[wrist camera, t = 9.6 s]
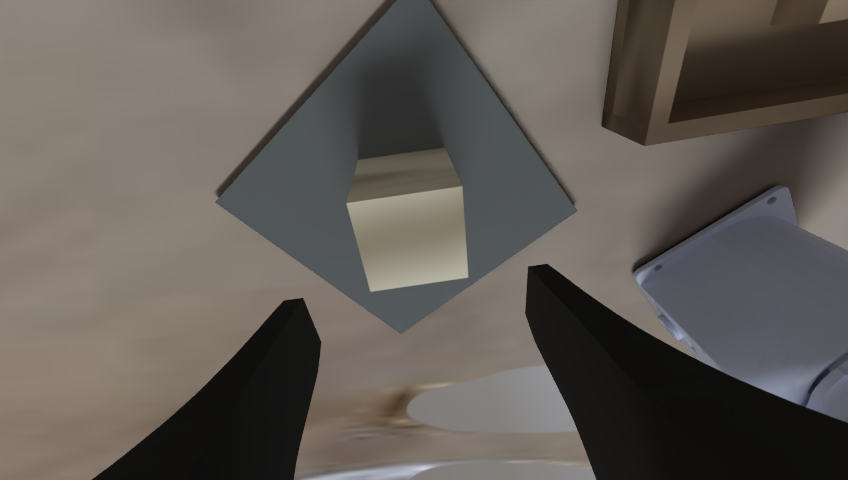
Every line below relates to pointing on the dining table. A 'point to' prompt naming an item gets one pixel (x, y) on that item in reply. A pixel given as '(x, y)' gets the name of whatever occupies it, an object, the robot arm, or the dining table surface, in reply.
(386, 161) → the birch block
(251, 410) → the robot arm
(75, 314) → the dining table surface
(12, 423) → the dining table surface
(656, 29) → the walnut crate
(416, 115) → the rubber mat
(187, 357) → the dining table surface
